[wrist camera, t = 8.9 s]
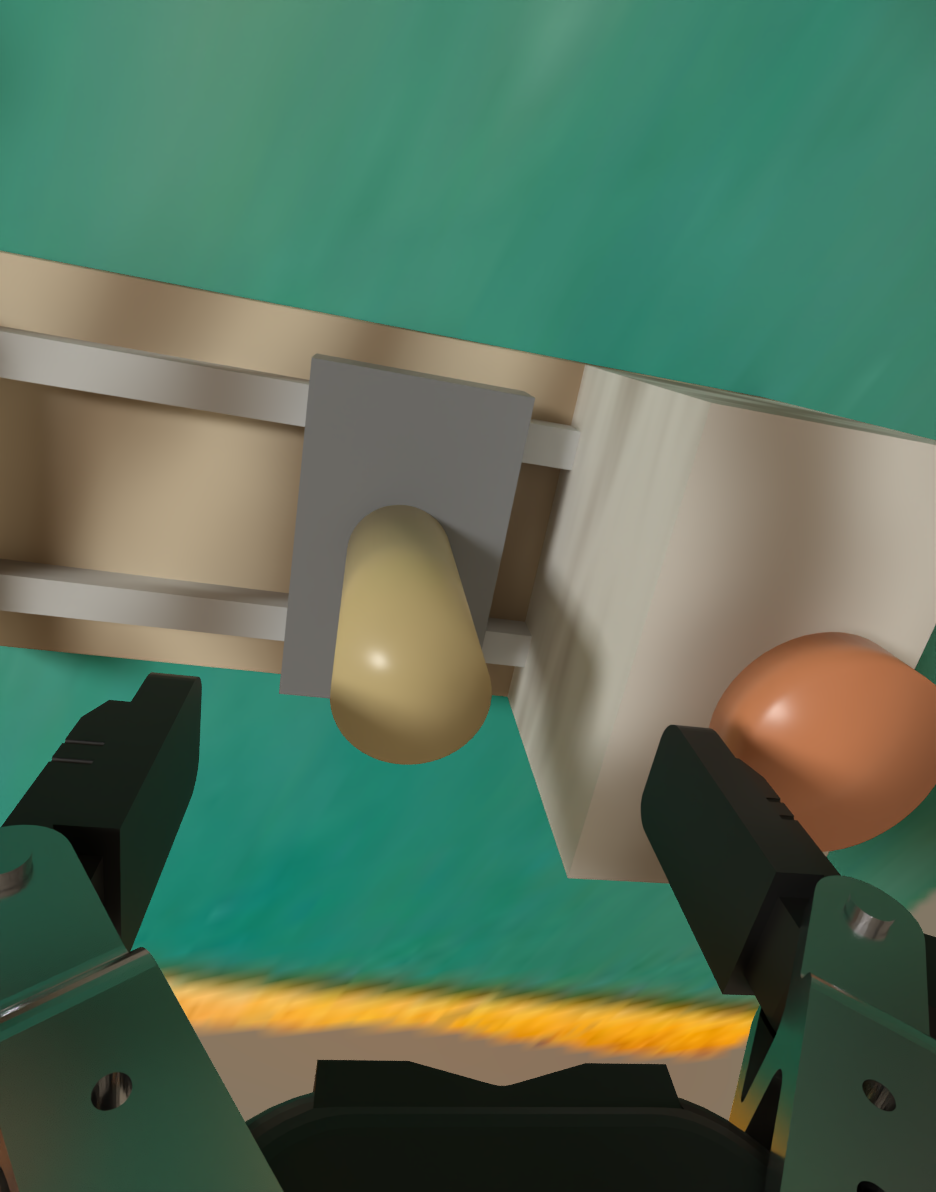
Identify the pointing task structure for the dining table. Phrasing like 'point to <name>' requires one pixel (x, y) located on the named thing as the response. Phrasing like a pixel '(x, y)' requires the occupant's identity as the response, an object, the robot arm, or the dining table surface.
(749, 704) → the button
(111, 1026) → the robot arm
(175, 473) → the rail board
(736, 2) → the dining table surface
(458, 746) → the carriage
